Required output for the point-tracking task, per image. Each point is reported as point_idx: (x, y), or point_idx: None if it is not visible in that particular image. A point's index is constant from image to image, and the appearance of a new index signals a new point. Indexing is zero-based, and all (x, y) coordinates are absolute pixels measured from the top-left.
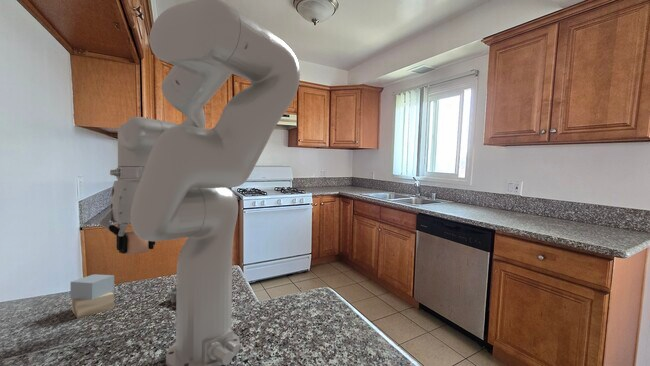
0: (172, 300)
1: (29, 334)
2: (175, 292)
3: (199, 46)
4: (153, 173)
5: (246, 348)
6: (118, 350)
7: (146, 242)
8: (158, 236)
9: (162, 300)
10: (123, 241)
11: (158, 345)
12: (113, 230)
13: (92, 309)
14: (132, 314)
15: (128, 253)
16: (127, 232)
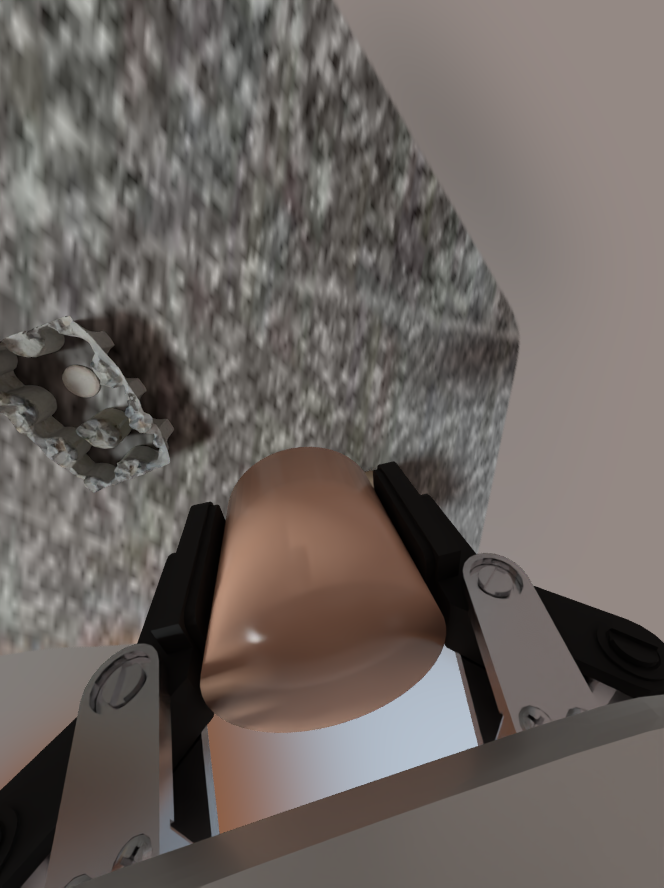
0: (167, 424)
1: (471, 437)
2: (147, 425)
3: None
4: None
5: None
6: (358, 151)
7: (244, 519)
8: None
9: (197, 460)
10: (433, 519)
11: (254, 56)
12: (592, 616)
13: (370, 477)
14: (288, 406)
15: (360, 469)
16: (428, 624)
